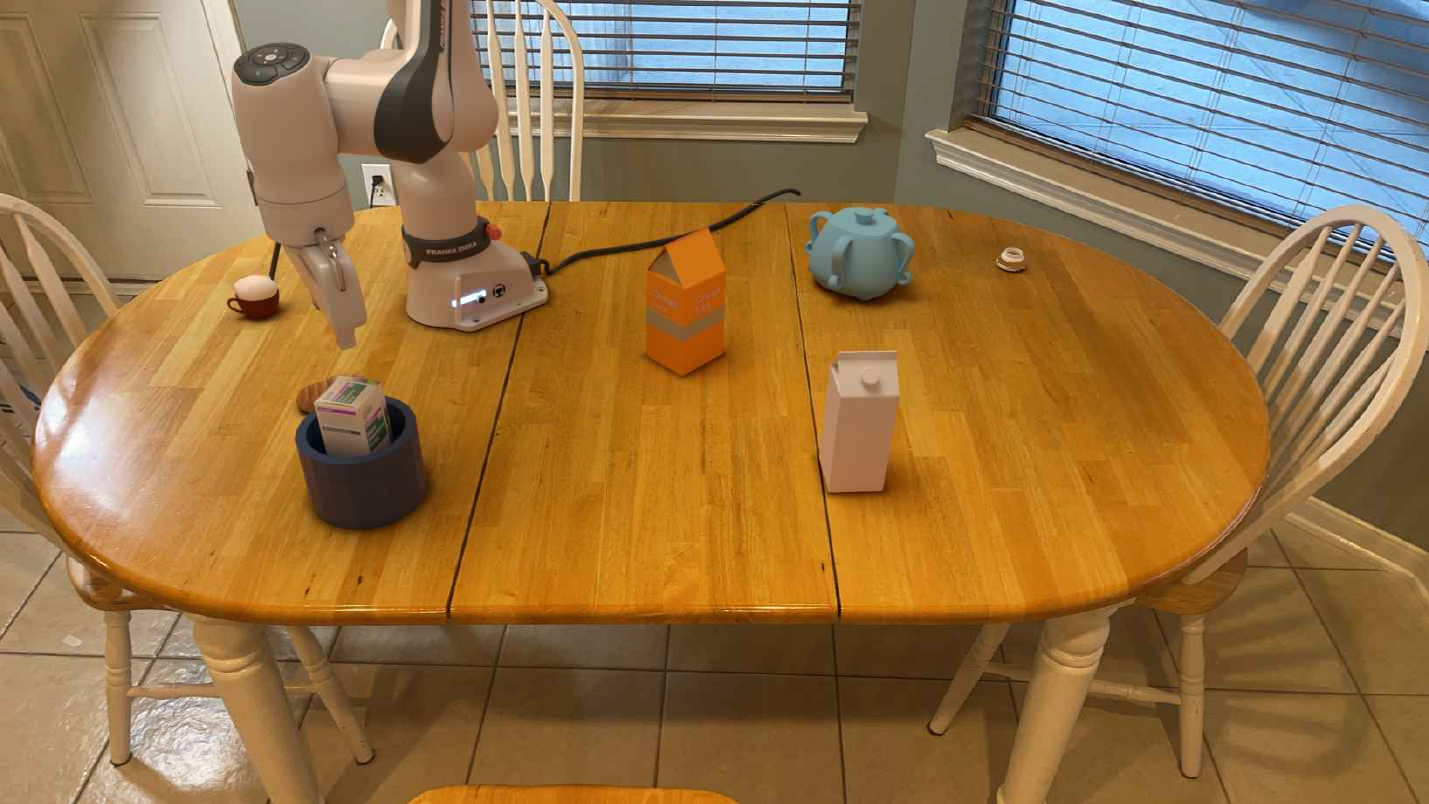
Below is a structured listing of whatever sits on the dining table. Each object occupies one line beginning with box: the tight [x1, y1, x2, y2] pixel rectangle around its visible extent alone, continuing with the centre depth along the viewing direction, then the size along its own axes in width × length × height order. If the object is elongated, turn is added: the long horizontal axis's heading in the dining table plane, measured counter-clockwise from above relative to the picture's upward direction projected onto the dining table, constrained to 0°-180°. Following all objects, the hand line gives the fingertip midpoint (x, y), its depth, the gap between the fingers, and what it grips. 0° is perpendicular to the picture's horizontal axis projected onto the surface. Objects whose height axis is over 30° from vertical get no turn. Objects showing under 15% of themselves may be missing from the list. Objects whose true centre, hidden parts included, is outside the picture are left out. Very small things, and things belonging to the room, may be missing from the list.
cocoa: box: [226, 241, 282, 319], centre depth 156 cm, size 10×6×12 cm, turn 104°
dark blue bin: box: [294, 395, 427, 530], centre depth 123 cm, size 14×14×10 cm
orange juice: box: [645, 225, 727, 377], centre depth 148 cm, size 8×9×20 cm
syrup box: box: [314, 376, 394, 458], centre depth 121 cm, size 6×6×14 cm
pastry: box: [295, 372, 365, 414], centre depth 140 cm, size 9×7×4 cm
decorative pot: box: [804, 206, 916, 301], centre depth 170 cm, size 16×16×14 cm
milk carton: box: [818, 350, 900, 493], centre depth 126 cm, size 7×7×19 cm
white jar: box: [996, 247, 1026, 272], centre depth 180 cm, size 5×3×5 cm
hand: (334, 325), depth 113 cm, fingers open, 8 cm apart
